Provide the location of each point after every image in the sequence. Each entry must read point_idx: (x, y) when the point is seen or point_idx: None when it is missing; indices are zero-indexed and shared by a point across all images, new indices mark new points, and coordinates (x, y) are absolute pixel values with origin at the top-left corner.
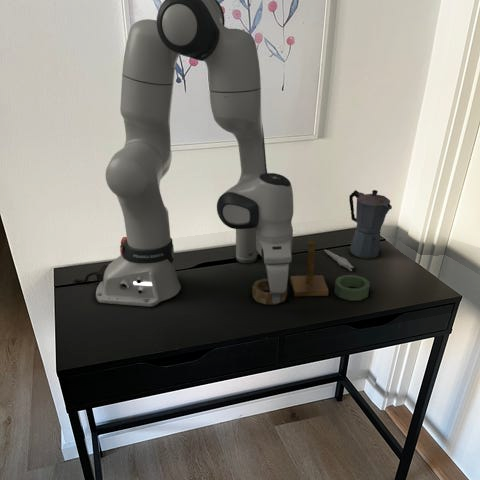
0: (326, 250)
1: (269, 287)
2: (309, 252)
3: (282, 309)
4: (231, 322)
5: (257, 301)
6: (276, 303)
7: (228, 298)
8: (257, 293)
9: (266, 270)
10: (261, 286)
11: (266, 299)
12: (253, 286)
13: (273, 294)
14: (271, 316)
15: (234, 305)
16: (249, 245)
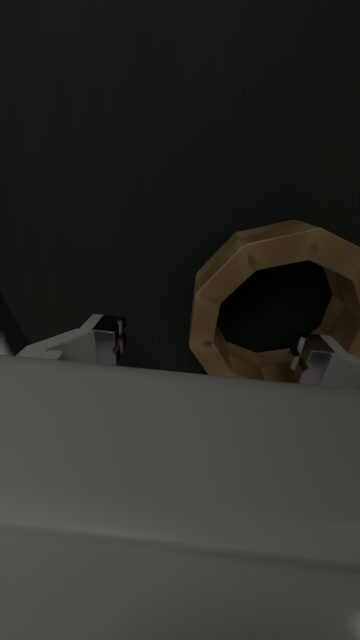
0: None
1: (331, 321)
2: None
3: (148, 331)
4: (11, 27)
5: (229, 239)
6: (190, 320)
7: (327, 30)
8: (234, 248)
9: (267, 405)
10: (340, 286)
11: (195, 286)
12: (317, 235)
13: (45, 344)
14: (93, 280)
15: (218, 77)
16: None
